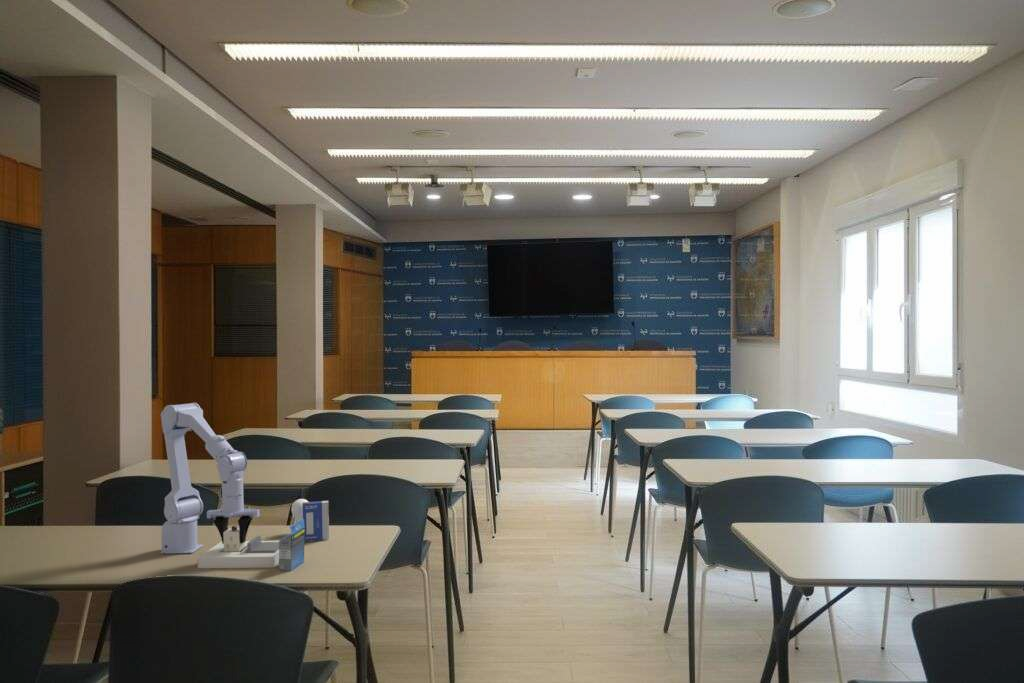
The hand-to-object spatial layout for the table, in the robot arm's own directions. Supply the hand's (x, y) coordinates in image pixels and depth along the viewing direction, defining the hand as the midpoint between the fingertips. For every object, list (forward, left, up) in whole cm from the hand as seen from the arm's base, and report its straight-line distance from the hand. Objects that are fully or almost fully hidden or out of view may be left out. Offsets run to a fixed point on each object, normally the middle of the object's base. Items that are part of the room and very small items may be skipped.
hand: (233, 542), depth 213 cm
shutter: (+9, 0, -2) cm, 9 cm away
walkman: (+18, +20, -5) cm, 27 cm away
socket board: (+3, 0, -5) cm, 6 cm away
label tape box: (+19, -7, -5) cm, 21 cm away
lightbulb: (+11, +28, -5) cm, 31 cm away
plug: (0, 0, -2) cm, 2 cm away
